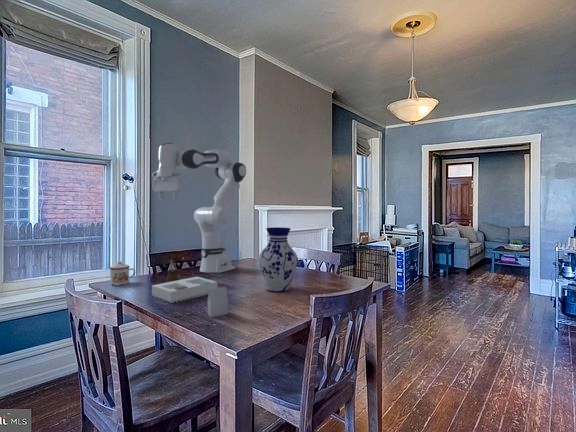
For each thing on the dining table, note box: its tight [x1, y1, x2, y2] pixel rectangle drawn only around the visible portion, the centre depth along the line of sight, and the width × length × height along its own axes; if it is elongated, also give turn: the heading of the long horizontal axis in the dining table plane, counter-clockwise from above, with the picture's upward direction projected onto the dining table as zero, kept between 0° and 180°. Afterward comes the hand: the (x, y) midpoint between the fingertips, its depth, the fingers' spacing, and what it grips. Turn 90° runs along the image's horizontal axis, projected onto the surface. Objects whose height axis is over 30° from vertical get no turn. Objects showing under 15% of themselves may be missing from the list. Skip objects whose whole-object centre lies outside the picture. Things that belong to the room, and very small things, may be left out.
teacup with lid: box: [109, 260, 136, 285], centre depth 176 cm, size 12×9×12 cm
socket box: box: [151, 276, 218, 304], centre depth 156 cm, size 24×16×5 cm, turn 139°
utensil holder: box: [166, 259, 180, 282], centre depth 176 cm, size 6×6×12 cm
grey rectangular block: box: [207, 286, 229, 318], centre depth 130 cm, size 4×7×10 cm, turn 124°
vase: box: [258, 226, 299, 293], centre depth 166 cm, size 19×19×30 cm
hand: (167, 200), depth 179 cm, fingers open, 8 cm apart
